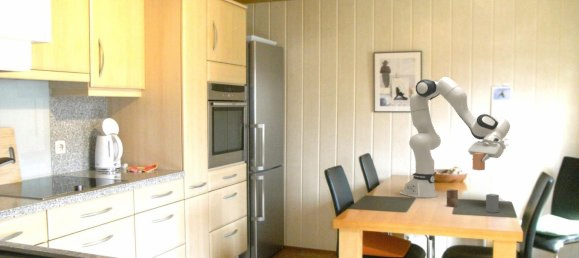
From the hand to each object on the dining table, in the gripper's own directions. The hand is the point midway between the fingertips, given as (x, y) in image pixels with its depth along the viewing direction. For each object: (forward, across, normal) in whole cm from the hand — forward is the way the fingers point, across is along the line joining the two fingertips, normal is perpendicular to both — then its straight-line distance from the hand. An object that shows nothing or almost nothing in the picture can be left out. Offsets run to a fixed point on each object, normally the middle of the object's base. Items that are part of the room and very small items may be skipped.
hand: (477, 160), depth 281 cm
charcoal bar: (+20, +13, +15) cm, 29 cm away
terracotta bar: (+3, 0, +4) cm, 5 cm away
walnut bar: (+26, -7, +10) cm, 29 cm away
